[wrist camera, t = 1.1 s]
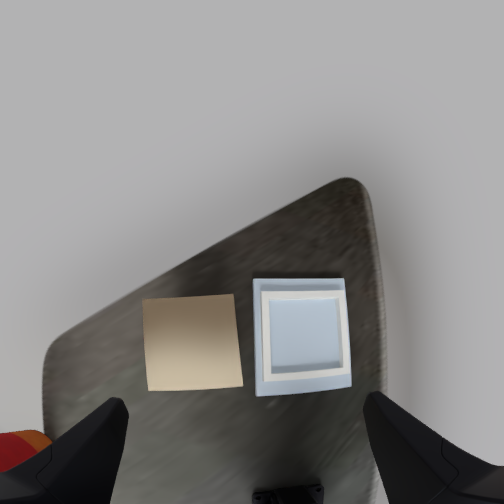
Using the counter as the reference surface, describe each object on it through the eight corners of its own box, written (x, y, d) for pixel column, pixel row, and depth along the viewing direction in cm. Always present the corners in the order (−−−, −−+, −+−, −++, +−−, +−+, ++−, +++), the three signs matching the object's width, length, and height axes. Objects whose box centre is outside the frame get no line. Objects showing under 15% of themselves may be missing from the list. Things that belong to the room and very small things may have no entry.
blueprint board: (347, 385, 23) (355, 387, 21) (255, 395, 22) (258, 397, 20) (340, 280, 26) (347, 276, 25) (252, 280, 25) (254, 276, 24)
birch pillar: (231, 372, 22) (242, 385, 12) (179, 376, 22) (148, 390, 11) (226, 321, 24) (233, 293, 13) (175, 325, 23) (142, 299, 13)
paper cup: (42, 491, 14) (-33, 533, 1) (5, 429, 16) (-85, 441, 3) (87, 477, 16) (8, 537, 3) (44, 409, 18) (-59, 423, 5)
